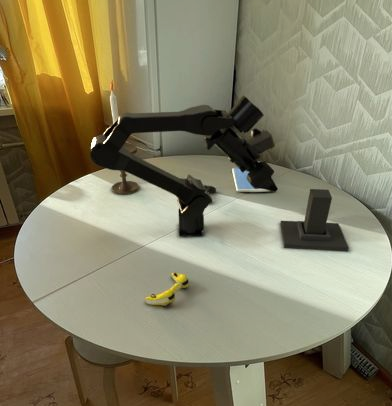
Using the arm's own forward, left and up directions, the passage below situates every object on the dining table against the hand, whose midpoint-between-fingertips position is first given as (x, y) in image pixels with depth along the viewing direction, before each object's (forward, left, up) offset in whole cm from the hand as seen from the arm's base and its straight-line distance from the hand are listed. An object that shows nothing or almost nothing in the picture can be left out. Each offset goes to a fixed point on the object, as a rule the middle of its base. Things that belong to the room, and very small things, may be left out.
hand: (270, 183), depth 96 cm
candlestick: (-44, +25, -13) cm, 52 cm away
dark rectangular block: (+11, -8, -11) cm, 18 cm away
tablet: (+1, +28, -12) cm, 31 cm away
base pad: (+11, -8, -12) cm, 19 cm away
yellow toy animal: (-27, -29, -13) cm, 42 cm away
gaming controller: (-17, +17, -13) cm, 27 cm away
